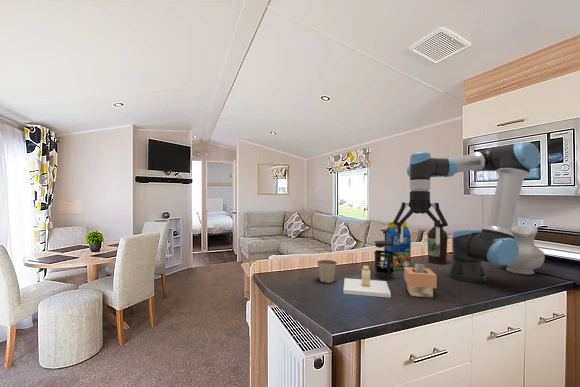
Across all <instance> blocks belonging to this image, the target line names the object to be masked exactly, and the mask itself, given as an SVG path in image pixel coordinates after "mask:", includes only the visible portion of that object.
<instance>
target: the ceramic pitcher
mask: <svg viewBox="0 0 580 387" xmlns="http://www.w3.org/2000/svg"><path fill="white" fill-rule="evenodd" d="M538 229H539V227H538V226H536V225H533V227H532V228H530V227H527V226H524V225H520V224H519V225H515V226H514V227H512V228H511V232H512V234H513V235H514V240H515V241H516V242H517V244H518V247H519V252H518V255H517V257H516V258H515V260H514V261H513V262H510V263H509V264H507V265H505V266H507V267H506V268H505V271H507V272H510V273H514V274H517V275H518V274H520V275H522V274H523V275H527V276H528V275H529V276H530V275H533V274H536V272H535V271H534V270H535V269H537V270H538V268H540V267H541V266H542V265H543V264H544V262H545V257H546V256H545V253H544V251H543V250H541V249H540V248H539V247H537V245H535V243H534V240H535V238H536V235H537V234H538Z"/></svg>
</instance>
